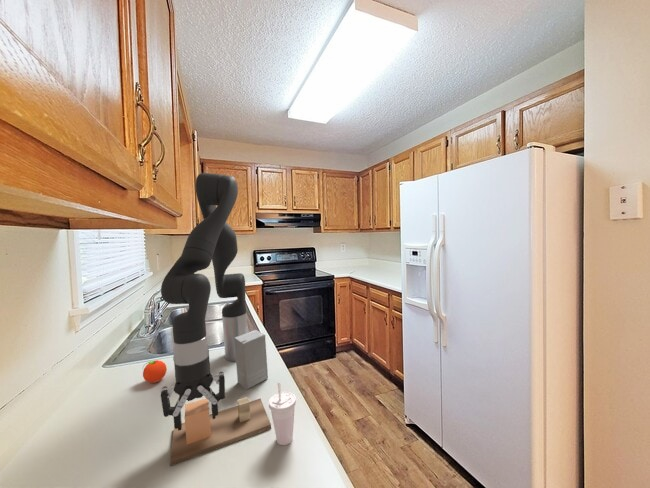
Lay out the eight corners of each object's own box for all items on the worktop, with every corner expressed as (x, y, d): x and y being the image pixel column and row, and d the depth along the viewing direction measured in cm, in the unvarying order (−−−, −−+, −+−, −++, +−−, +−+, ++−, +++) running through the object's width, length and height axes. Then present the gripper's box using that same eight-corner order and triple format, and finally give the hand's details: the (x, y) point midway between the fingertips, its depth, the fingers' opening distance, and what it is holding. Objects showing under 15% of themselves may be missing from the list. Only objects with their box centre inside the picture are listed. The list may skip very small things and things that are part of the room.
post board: (174, 429, 68) (172, 408, 68) (260, 401, 78) (259, 383, 78) (170, 465, 58) (168, 441, 57) (271, 428, 67) (269, 407, 67)
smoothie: (269, 433, 65) (265, 378, 64) (294, 425, 68) (291, 372, 67) (273, 454, 59) (269, 393, 58) (301, 444, 62) (298, 385, 61)
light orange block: (187, 430, 67) (185, 404, 66) (210, 422, 69) (208, 397, 68) (186, 444, 62) (184, 417, 62) (211, 436, 64) (209, 409, 64)
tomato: (135, 387, 89) (133, 366, 88) (150, 375, 96) (148, 356, 95) (158, 387, 88) (156, 366, 88) (171, 375, 95) (170, 356, 95)
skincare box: (258, 372, 94) (255, 328, 93) (269, 379, 89) (266, 333, 88) (235, 383, 88) (232, 336, 87) (246, 391, 83) (243, 341, 82)
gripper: (222, 343, 71) (226, 404, 72) (158, 357, 64) (164, 423, 65) (225, 355, 64) (230, 421, 65) (154, 371, 58) (161, 445, 59)
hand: (197, 422), depth 65 cm, fingers open, 7 cm apart
